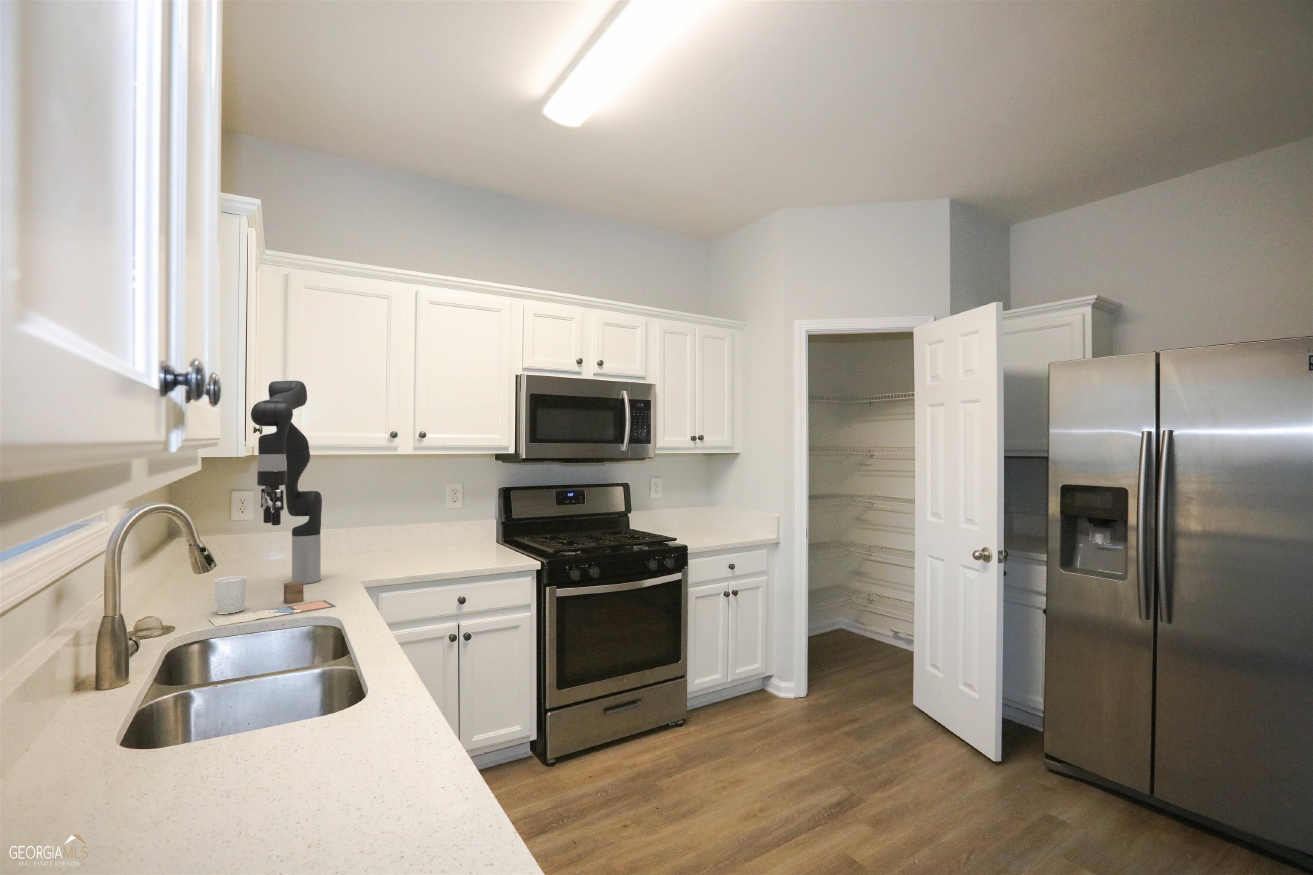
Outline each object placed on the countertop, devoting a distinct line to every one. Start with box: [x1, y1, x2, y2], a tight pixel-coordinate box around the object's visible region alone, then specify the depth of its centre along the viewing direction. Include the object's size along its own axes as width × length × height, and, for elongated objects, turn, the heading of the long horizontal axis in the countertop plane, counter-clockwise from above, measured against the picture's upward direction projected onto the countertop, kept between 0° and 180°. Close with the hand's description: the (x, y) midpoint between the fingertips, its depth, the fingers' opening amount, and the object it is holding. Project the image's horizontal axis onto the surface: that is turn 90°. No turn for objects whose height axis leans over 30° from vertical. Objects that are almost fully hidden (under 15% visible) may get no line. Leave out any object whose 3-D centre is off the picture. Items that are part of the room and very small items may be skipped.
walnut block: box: [283, 581, 305, 605], centre depth 202 cm, size 4×4×6 cm
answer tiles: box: [267, 599, 337, 614], centre depth 188 cm, size 11×31×1 cm, turn 134°
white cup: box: [214, 575, 247, 614], centre depth 190 cm, size 8×8×10 cm
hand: (271, 524), depth 188 cm, fingers open, 8 cm apart
